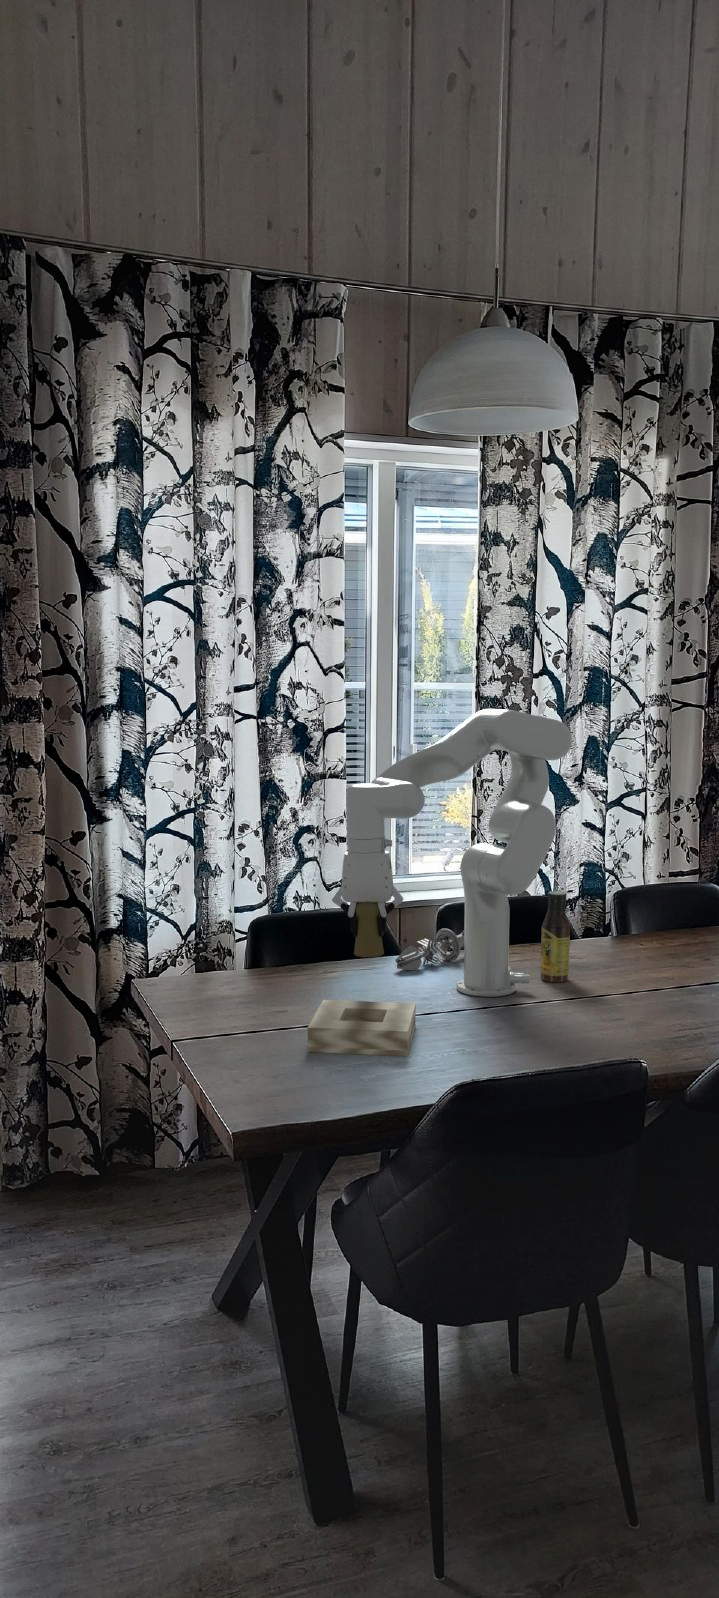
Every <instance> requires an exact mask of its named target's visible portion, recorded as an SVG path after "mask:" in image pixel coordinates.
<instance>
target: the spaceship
mask: <svg viewBox="0 0 719 1598" xmlns="http://www.w3.org/2000/svg"><path fill="white" fill-rule="evenodd" d="M447 938H448V939H447ZM417 943H418V944H421V945H422V946H421V947H415V946H412V945H408V947H406V949H404V950H403V951H402V952H401V953H400V954H399V955H398V957H397V958H395V960H394V961H395V963H396V964H395V965H393V967H394V966H396V968H397V970H398V969H399V970H404V971H406V970H407V971H413V970H414V971H416V970H415V969H418V968H419V969H420V966H421V965H424V964H425V965H426V964H429V963H432V964H434V965H437V963H438V964H440V963H443V962H444V960H445V959H447V960H446V961H448V960H449V962H453V961H456V960H457V959H458V958H459V956H460V953H461V948H462V947H463V948H464V930H462V931H461V933H460V934H458V935H457V934H456V933H455V932H454V931H453V930H451V929H449V928H441V929H439V930H438V931H437V932H436V935H435V937H434V938H433V939H432V940H431V939H427V938H424V939H421V940H418V941H417ZM448 951H449V952H448ZM439 957H441V958H442V959H443V960H442V959H441V958H439ZM422 959H423V962H422ZM419 969H418V970H419Z"/></svg>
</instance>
